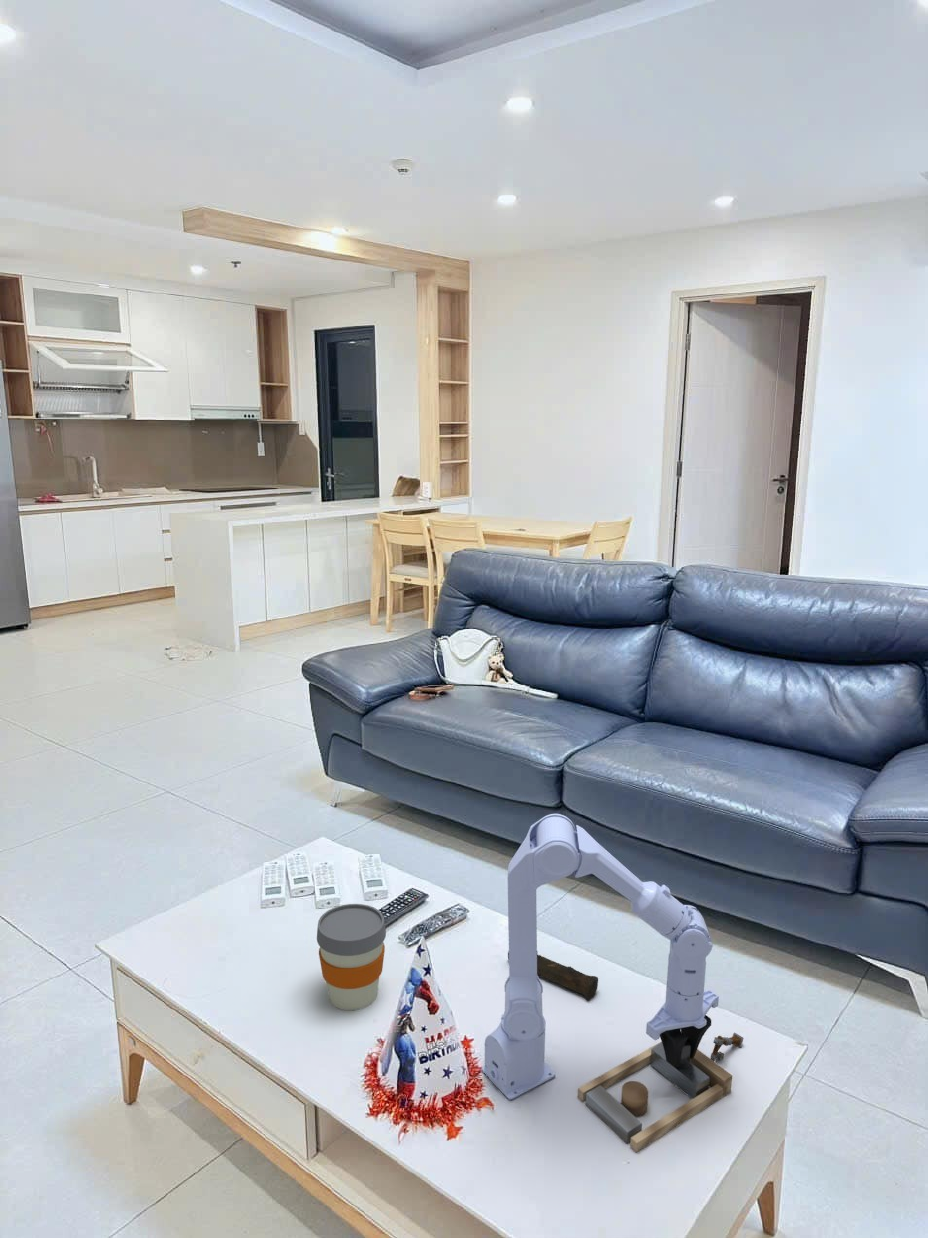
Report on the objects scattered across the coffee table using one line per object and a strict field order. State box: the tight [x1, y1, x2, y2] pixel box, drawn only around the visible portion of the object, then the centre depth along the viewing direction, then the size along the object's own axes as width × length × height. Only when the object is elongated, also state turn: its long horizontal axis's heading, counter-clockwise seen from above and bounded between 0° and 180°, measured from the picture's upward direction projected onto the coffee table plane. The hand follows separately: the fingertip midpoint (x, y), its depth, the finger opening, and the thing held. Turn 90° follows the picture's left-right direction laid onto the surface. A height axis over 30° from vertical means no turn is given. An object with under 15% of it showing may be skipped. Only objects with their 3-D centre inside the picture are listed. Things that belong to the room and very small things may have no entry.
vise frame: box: [577, 1041, 733, 1153], centre depth 136 cm, size 21×13×3 cm, turn 124°
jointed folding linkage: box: [710, 1032, 744, 1063], centre depth 145 cm, size 2×8×4 cm, turn 131°
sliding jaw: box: [649, 1039, 710, 1100], centre depth 139 cm, size 3×10×7 cm, turn 34°
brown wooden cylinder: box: [620, 1080, 649, 1118], centre depth 134 cm, size 4×4×3 cm
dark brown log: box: [507, 950, 599, 1002], centre depth 165 cm, size 19×4×5 cm, turn 52°
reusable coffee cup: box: [316, 903, 387, 1011], centre depth 158 cm, size 13×13×15 cm
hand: (680, 1058), depth 139 cm, fingers closed on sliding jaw, 3 cm apart
